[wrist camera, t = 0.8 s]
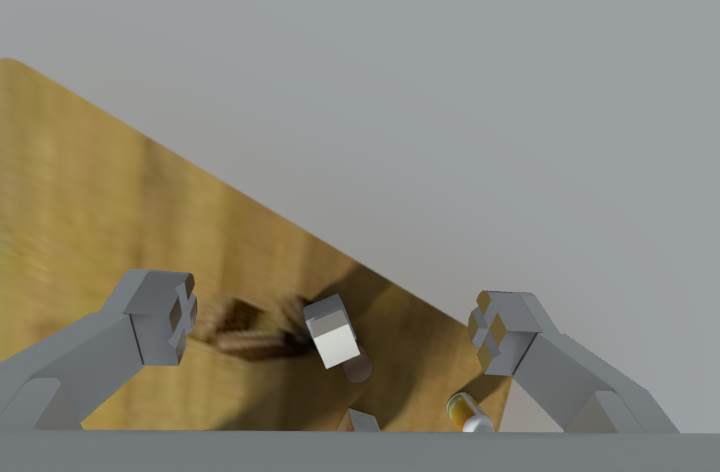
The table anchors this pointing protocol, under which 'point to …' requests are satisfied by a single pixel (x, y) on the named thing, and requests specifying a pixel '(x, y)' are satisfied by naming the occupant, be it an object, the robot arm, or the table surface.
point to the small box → (358, 422)
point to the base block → (325, 311)
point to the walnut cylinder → (357, 366)
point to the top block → (334, 339)
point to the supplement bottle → (468, 414)
